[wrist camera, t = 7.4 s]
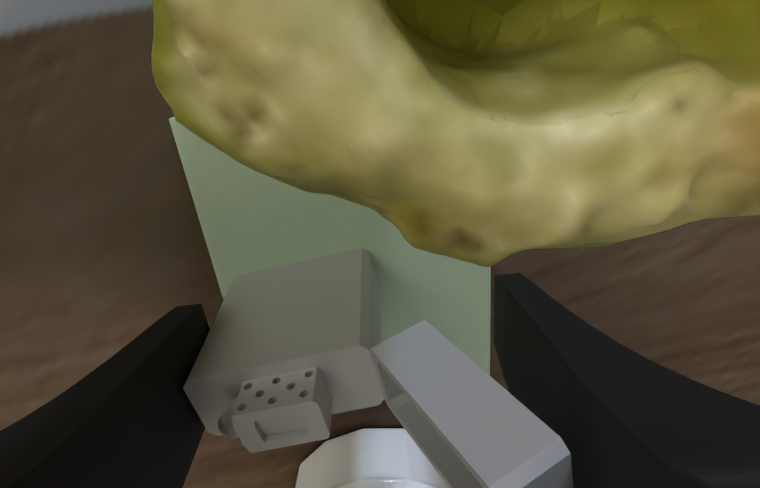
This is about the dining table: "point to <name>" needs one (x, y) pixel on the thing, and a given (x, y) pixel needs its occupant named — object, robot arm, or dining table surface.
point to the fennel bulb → (481, 110)
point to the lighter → (360, 377)
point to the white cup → (369, 462)
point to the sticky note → (331, 245)
